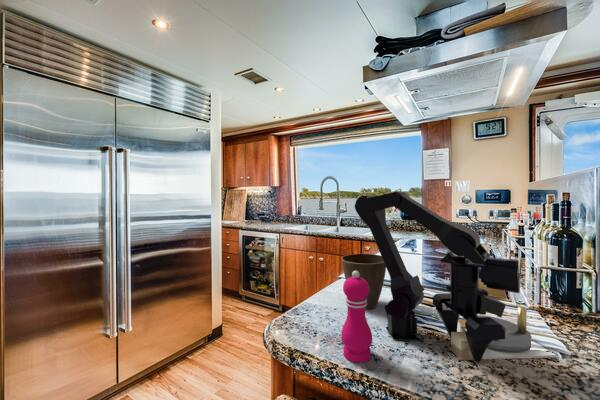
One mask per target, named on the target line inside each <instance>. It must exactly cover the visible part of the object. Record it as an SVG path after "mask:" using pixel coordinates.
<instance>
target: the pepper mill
mask: <svg viewBox="0 0 600 400" xmlns="http://www.w3.org/2000/svg"><path fill="white" fill-rule="evenodd" d="M352 276H353V277H350V278H348V279H347V280H346V279H345V281H344V282H343V287H342V290H343V294H344V295H345V298H344V299H345V301H344V302H345V305H346V307H347V315H346V318H345V321H344V323H343V326H342V329H341V332H340V334H341V335H340V338H341V341H342V343H343V351H342V352H343V353H342V354H343V356H344V358H345V359H346V360H348V361H349V360H350V361H349V362H352V361H353V362H352V363H356V362H359V364H360V362H362V363H365V362H368V361H369V360H370V359H371V356H372V355H371V354H372V353H371V348H370V346H371V345H372V343H373V333H372V330H371V327H370V325H369V323H368V321H367V317H366V309H365V306H367V298H366V296H367V295H368V294H369V285H368V283H367V282H366V281H365V280H364V279H363V278H361V277H359V276H360V274H359V272H358V271H353V272H352Z"/></svg>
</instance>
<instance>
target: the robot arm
mask: <svg viewBox="0 0 600 400" xmlns="http://www.w3.org/2000/svg"><path fill="white" fill-rule="evenodd" d="M391 208H396V209H397V210H398V211H400V212H402V213H403V214H404V215H406V216H407V217H409V218H411V219H412V220H413V221H415V222H416V223H418V224H420V225H421V226H423V227H424V228H425V229H427V230H429V232H431V233H432V234H433V235H434V236H436V237H437V239H438V240H439V241H440V243H441V244H442V245H443V246H445V248H447V249H448V250H449V252H447V253H446V254H445V256H444V257H442V258H441V259H440V260H439V261H440V262H441V263H445V264H449V279H450V280H449V284H445V285H446V286H445V287H446V290H448V291H449V293H448V292H447V293H435V294H434V295H433V296H432V305H433V306H434V307H435V310H436V311H437V313H438V315H439V317H440V319H441V321H442V324H443V323H444V324H443V326H444V327H445V330H446V332H447V334H448V336H449V338H450V339H451V332H457V326H458V322H459V321H458V320H459V318H460V317H461V318H465V319H466V320H467V321H466V322H465V327H466V330H467V332H465V334H466V337H467V340H468V344H469V347H470V350H471V353H472V356H473V359H474V360H473V361H474V362H475V363H480V362H481V361H482V360H483V359H482V356H483V354H484V352H485V350H486V348H487V346H488V345H489V343H490V342H491V341H493V340H499V339H505V338H506V329H505V328H504V327H503V326H502V325H501V324H500V323H498V322H496V321H495V320H493V319H492V318H490V317H491V316H490V317H478V316H477V315H481V316H487V313H490V314H492V315H495V316H496V317H497V318H502V317H503V314H504V312H505V309H506V307H507V304H506V303H504V302H502V301H500V300H498V299H496V298H494V297H492V296H490V295H489V292H488V291H487V290H485V289H483V288H480V287H479V282H481V283H482V284H483V286H486V288H488V289H492V290H497V291H503V292H509V293H515V294H520V292H521V279H522V278H521V275H522V274H521V272H520V264H519V262H520V261H519V259H516V258H515V259H514V258H508V259H507V258H506V259H505V258H499V257H498V258H497V257H496V258H495V257H491V255H490V253H489V252H488V251H487V249H485V247H484V246H483V245H482V243H481V238H480V235H479V234H478V232H476V231H475V230H473V229H472V228H469V227H467V226H464V225H462V224H459V223H456V222H454V221H451V220H448V219H446V218H443V217H442V216H441V215H439V214H437V213H436V212H434V211H432V210H431V209H430V208H428V207H426V206H425V205H423V204H421V203H420V202H418V201H416V200H415V199H413V198H412V197H410V196H409V195H407V194H406V193H405V192H403V191H396V190H395V191H391V192H390V193H385V194H380V195H375V194H373V195H372V194H369V195H366V194H365V195H360V196H359V197H358V198H357V199H356V200H355V203H354V210H355V212H356V213H357V215H358V216H359V219H360V220H361V221H362V222H363V223H364V224H365V225H366V226H367V227H368V228H369V231H370V232H371V235H372V236H373V237H372V238H373V240H374V242H375V244H376V246H377V249H378V251H379V254H380V256H382V259H383V261H384V263H385V266H386V271H387V272H388V275H389V278H390V292H391V293H390V294H391V296H392V300H390V301H389V302H388V303H387V304H385V305H383V306H384V310H385V314H386V315H387V326H386V327H385V329H386V331H387V332H388V335H390V337H391V338H392V340H394V341H411V340H413V341H414V340H419V337H418V335H417V334H418V317H417V318H416V313H415V312H414V310H415V309H416V308H417V307H418V306H419V305H420V304H421V303H422V302H423V300H424V298H425V294H424V291H425V290H426V289H425V287H423V285H422V283H421V281H420V277H419V276H418V275H417V274H416V275H414V276H413V275H412V274H411V273H409V271H408V270H407V267H406V266H405V263H404V260H403V259H402V256H401V254H400V252H399V250H398V247H397V244H396V243H395V240H394V239H393V236H392V234H391V232H390V229H389V226H388V224H387V222H386V220H387V219H386V218H387V217H386V215H387V213H386V209H391ZM479 269H480V270H479ZM479 271H480V276H479ZM479 277H480V279H479Z"/></svg>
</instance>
